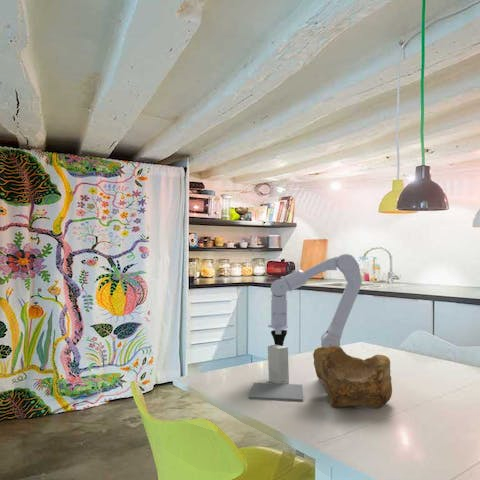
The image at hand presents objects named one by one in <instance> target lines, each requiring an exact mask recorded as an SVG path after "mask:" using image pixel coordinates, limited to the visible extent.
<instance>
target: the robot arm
mask: <svg viewBox="0 0 480 480" xmlns="http://www.w3.org/2000/svg"><path fill="white" fill-rule="evenodd" d="M337 269H338V270H339V271H340V272H341V273H342V274H343V278H344V279H345V281H346V285H345V287H344V290H343V292H342V295H341V297H340V300H339V302H338V305H337V307H336V309H335V312H334V315H333V317H332V319H331V322H330V323H329V326H328V328H327V330H326V331H325V332H324V333H323V334H322V335H321V339H320V340H321V342H320V343H321V344H320V345H321V347H325V348H328V347H331V346H337V347H341V338H342V335H343V331H344V328H345V326H346V323H347V321H348V319H349V317H350V314H351V312H352V309H353V307H354V303H355V302H356V299H357V297H358V294H359V292H360V290H361V287H362V285H363V280H362V275H361V271H360V265H359V263H358V261H357V260H356V257H354V256H353V255H352V254H349V253H343V254H340V255H339V256H335V257H331V258H327V259H326V260H324V261H322V262H320V263H318V264H316V265H314V266H312V267H310V268H307V269H305V270H302V269H294V270H292V271H291V273H289V274H287V275H285V276H284V275H282V276H280V279H275V280H274V281H272V283H271V285H270V292H271V300H270V304H271V305H270V306H271V307H270V308H271V309H270V311H271V313H270V314H271V315H270V317H271V320H270V324H268V325H267V328H271V329H273V330H271V331H270V335H271V336H272V338H273V342H274V345H280V346H284V342H285V339H286V336H287V334H288V330H287V329H288V300H287V299H288V298H287V292H292V291H294V290H296V289H298V288H300V287H303V286H305V285H307V283H308V280H309V279H311V278H313V277H315V276H319V274H322V273H324V272H327V271H337ZM318 379H319V378H318ZM319 381H320V382H322V380H320V379H319Z"/></svg>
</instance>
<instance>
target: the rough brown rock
mask: <svg viewBox="0 0 480 480" xmlns="http://www.w3.org/2000/svg"><path fill="white" fill-rule="evenodd" d="M312 353H313V354H312V357H313V365H314V369H315V374H316V377H317V378H318V379H320V380H322V381H321V383H322V386H323V388H324V391H325V394H327V398H328V401H329V405H330V407H331V408H344V407H348V406H364V407H367V408H371V409H379V408H381V407H383V406H384V405H386V404H388V402H389V401H390V400H391V398H392V394H393V386H392V385H393V384H392V376H391V360H390V357H388V356H387V355H383V354H375V355H373V356H371V357H367V358H365V359H362V358H359V357H356V356H355V357H354V356H351V355H349V354H347V353H346V352H345V351H344V349H343V348H342V347H341V346H340V347H337V346H331V347H328V348H325V347H317V348H316V349H314V351H313V352H312ZM320 380H319V381H320Z"/></svg>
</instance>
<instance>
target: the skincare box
mask: <svg viewBox="0 0 480 480" xmlns="http://www.w3.org/2000/svg"><path fill="white" fill-rule="evenodd" d="M267 360H268V361H267V363H268V368H267V370H268V382H269V383H276V384H290V374H289V373H290V372H289V371H290V370H289V368H290V367H289V347H288V346H284V345H283V346H280V345H275V344H272V345H267Z"/></svg>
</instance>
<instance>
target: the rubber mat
mask: <svg viewBox="0 0 480 480" xmlns="http://www.w3.org/2000/svg"><path fill="white" fill-rule="evenodd" d="M303 391H304V390H303V384H298V383H297V384H293V383H287V384H276V383H273V382H253V384H252V387H251V390H250V392H249V395H248V398H249V399H252V400H268V401H269V400H270V401H284V402H285V401H288V402H290V401H292V402H304V393H303Z"/></svg>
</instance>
